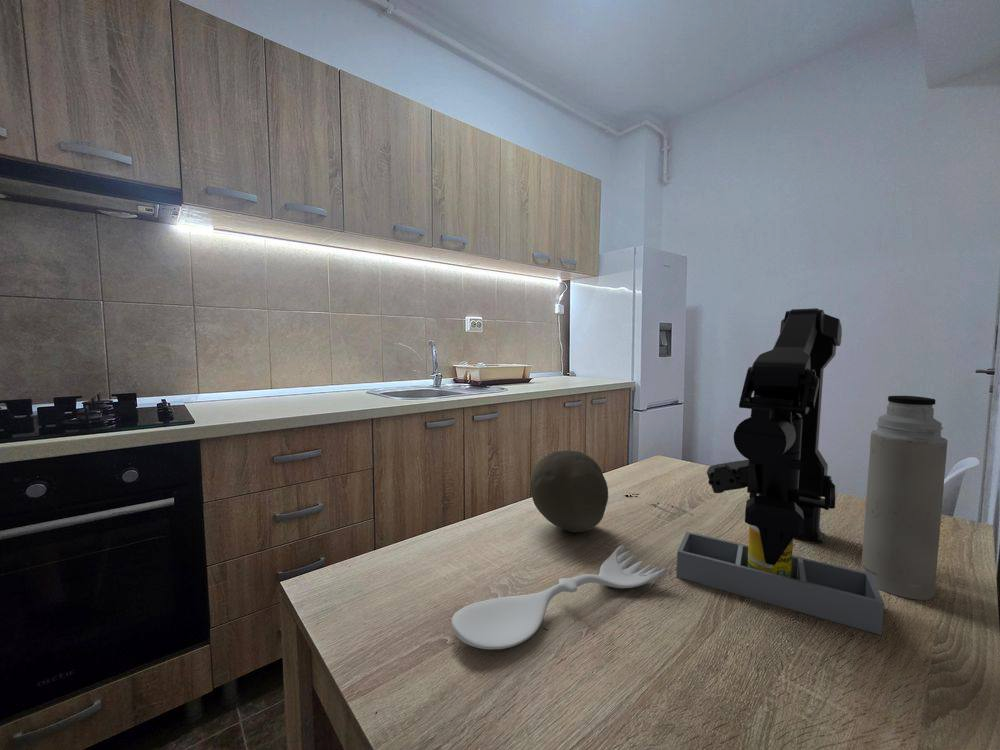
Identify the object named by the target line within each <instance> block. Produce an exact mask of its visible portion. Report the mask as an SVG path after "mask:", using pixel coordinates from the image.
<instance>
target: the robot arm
mask: <svg viewBox="0 0 1000 750" xmlns="http://www.w3.org/2000/svg"><path fill="white" fill-rule="evenodd" d="M780 321H781V322H780V328H779V329H780V330H779V335H778V338H777V339H776V341H775V344H774V346H773V348H772V349H771V350H768V351H766V352H763V353H760V354H759V355H758V356H757V357H756V359H755V361H754V362H753V363H752V366H748V367H747V368H748V369H747V371H746V376H745V379H744V382H743V386H742V391H741V395H740V398H739V403H738V408H739V409H748V410H750V417H747V418H745V419H743V420H742V421H741V422H740V423H739V424H737V426H736V428H735V430H734V432H733V444H734V446H735V448H736V450H737V451H738V452H739V453H740V454H741V456H743V457H744V458H745V459H744V460H736V461H735V460H734V461H730V462H723V463H718V464H714V465H711V466H709V467H708V468H707V471H706V475H707V477H708V478H707V479H708V481H707V482H708V484H709V485H710V486H711V489H712V492H713V493H714V494H722V493H724V492H725V491H726V492H727V491H732V490H734V491H735V490H741V489H745V488H746V493H749V497H748V499H747V500H746V504H745V511H744V512H745V514H744V523H746V524H747V525H748V526H749V525H753V526H756V527H757V528H758V529H759V532H760V537H761V542H762V547H763V553H764V558H765V562H766V563H767V564H770V565H775V564H776V563H777V561H778V560H779V558H780V557H781V555H782V554H783V552H784V551H785V549H786V548H787V546H788V545H789V543H790V542H791V541H792V539H793V540H794V538H796V539H800V540H805V541H809V542H815V543H818V544H819V543H820V544H823V543H824V537H823V533H822V531H821V528H820V527H821V511H822V510H821V509H823V510H827V511H829V510H830V509H833V510H834V509H835V508H836V499H837V498H836V494H837V493H836V485H835V484H834V483H833V480H832V476H831V475H828V473H829V472H828V470H829V469H828V468H829V467H828V466H829V465H828V463H827V461H826V459H825V458H824V457H823V455H822V453H821V451H820V450H819V441H820V440H819V439H820V438H819V437H820V429H821V428H820V427H821V426H820V425H821V412H822V397H823V396H822V395H823V394H822V393H823V381H824V380H823V379H824V370H825V368H826V367H827V366H828V364H830V362H831V361H832V360H833V359H834V358H835V357H836V353H837V351H836V350H837V347H840V346H841V343H842V336H843V334H842V333H843V332H842V331H843V330H842V329H843V328H842V324H841V321H840V319H839V318H837V317H834V316H832V315H829V314H827V313H825V311H824V309H819V308H815V307H814V308H795V309H790V310H786V312H785V315H784V318H783V319H782V320H780Z"/></svg>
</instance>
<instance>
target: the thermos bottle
mask: <svg viewBox="0 0 1000 750" xmlns="http://www.w3.org/2000/svg"><path fill="white" fill-rule="evenodd" d="M887 401H888V404H887V406H886V413H885V414H883V415H881V416H878V418H877V419H878V420H877V423H876V426H877V429H875V430H871V432H870V443H869V456H868V457H869V458H868V471H867V483H866V497H865V510H864V511H865V512H864V523H863V525H864V526H863V536H862V538H863V540H862V551H861V552H862V553H861V563H860V564H861V566H860V571H863V572H867V573H871V575H872V578H873V580H874V582H875V584H876V587H877V589H878V590H880V591H883V592H886V593H888V594H891V595H894V596H897V597H901V598H902V597H903V598H906V599H912V600H918V601H919V600H920V601H921V600H922V601H926V600H931V599H933V598H934V597H935V593H936V584H937V583H936V581H937V570H938V558H939V556H938V555H939V547H940V534H941V522H942V512H943V499H944V498H943V497H944V487H945V486H944V485H945V476H946V464H947V453H948V451H947V450H948V439H947V438H945V437H942V430H943V429H944V428H943V426H942V423H941V422H940V421H939V420H937V419H936V418H934V415H935V413H934V412H935V410H934V409H935V408H934V405H936V399H935V398H931V397H925V396H917V395H916V396H915V395H888V396H887Z"/></svg>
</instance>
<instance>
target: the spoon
mask: <svg viewBox="0 0 1000 750" xmlns="http://www.w3.org/2000/svg"><path fill="white" fill-rule="evenodd" d="M625 549H626V546H625V544H621V545H619V546H618V547H617V548H616V549H615V550H614V551H613V552H612V553H611V554H610V556H609V557H608V558H607V559H606V560H604V561H603V562H602V564H601V566H600V568H599V572H598V574H592V573H591V574H590V573H585V574H580V575H577V576H573V577H569V578H568V577H561V578H559V579H558V580H557V584H555V585H553V586H551V587H549V588H547V589H545V590H542V591H539V592H535V593H529V594H521V595H520V594H519V595H511V596H502V597H494V598H489V599H487V600H482V601H478V602H474V603H471V604H468V605H466V606H464V607H462V608H460V609H458V610H457V611H456V612H455V613H454V614H453V615H452V618H451V627H452V630H453V632H454V634H455V635H456V637H457V639H459V640H460V641H461V642H462V643H464V644H466V645H468V646H471V647H474V648H478V649H483V650H503V649H509V648H512V647H515V646H517V645H519V644H521V643H522V644H523V642H525V641H527V640H529V639H530V638H531V637H532V636H533V635H534V634H535V633H536V632H537V631H538V630H539V628H540V626H541V625H542V623H543V621H544V618H545V616H546V612H547V608H548V605H549V603H550V601H552V599H553V598H554V597H555V596H557V595H559V594H560V593H563V592H564V593H565V592H567V593H576V592H577V591H578V588H579V587H581V586H582V585H583V586H584V585H585V584H591V583H592V584H599V585H603V586H606V587H609V588H615V589H632V588H636V587H637V588H638V587H640V586H643V585H645V584H648V583H650V582H653V581H656V580H659V579H661V578H663V577H665V576H666V575H667V573H668V571H669V568H668V567H665V568H662V569H661V570H659V569H660V568H659V566H657V567H656V566H655V567H653V568H652V566H653V565H652V564H649V565H647V566H645V567H644V568H642V569H640V568H641V567H642V566H643V564H644V562H643V560H640V561H637V562H636V563H635V562H634V564H632V565H631V563H632V562H633V561H634V560H635V557H636V555H631V556H630V557H628V556H629V555H630V552H631V551H630V550H628V551H625V552H624V550H625ZM627 557H628V558H627Z"/></svg>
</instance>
